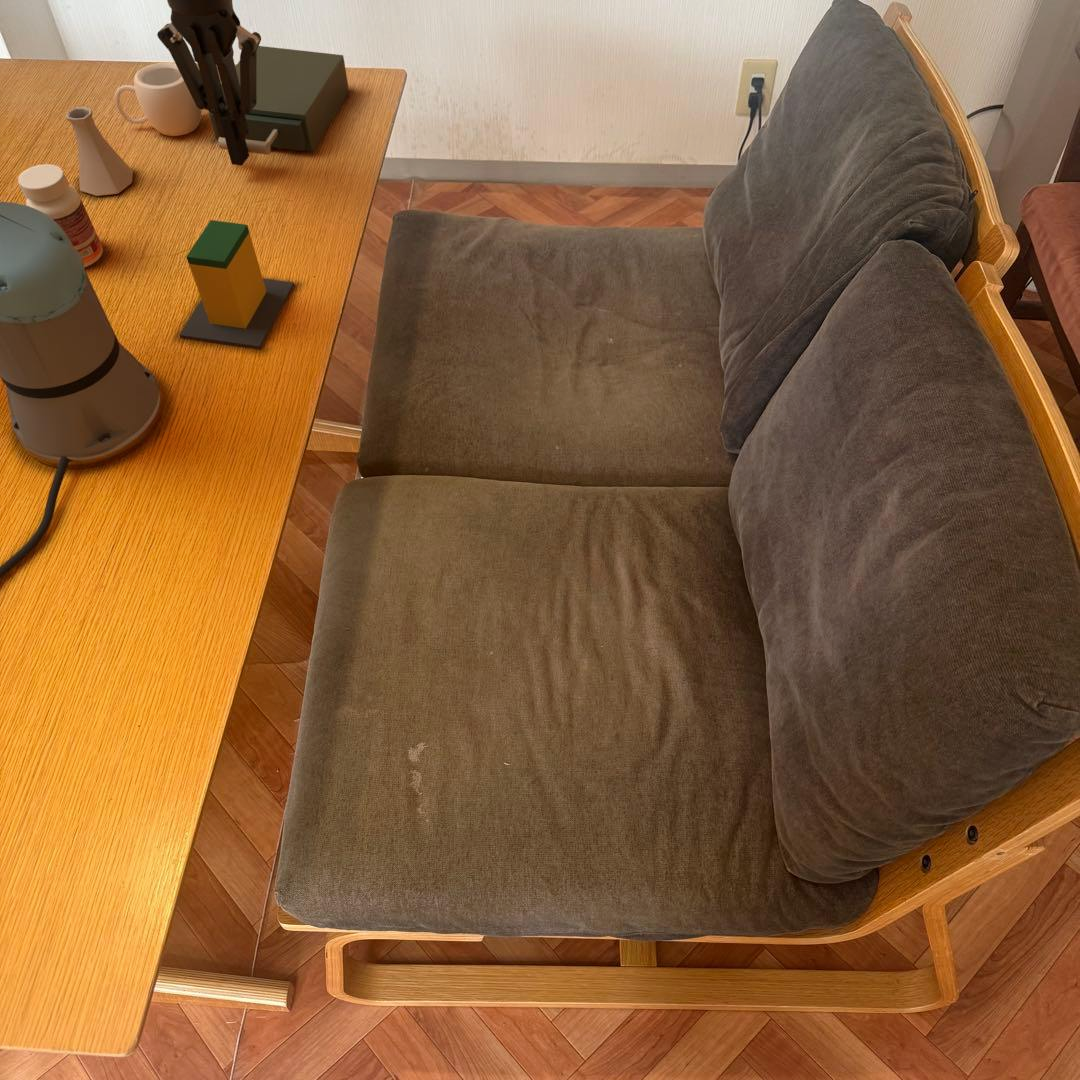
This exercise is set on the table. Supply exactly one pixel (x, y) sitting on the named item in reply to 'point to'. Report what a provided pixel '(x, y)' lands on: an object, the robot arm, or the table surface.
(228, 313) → the sponge
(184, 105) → the mug
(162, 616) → the table surface
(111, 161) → the flask
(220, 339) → the mat
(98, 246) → the pill bottle
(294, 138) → the drawer
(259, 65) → the cabinet
